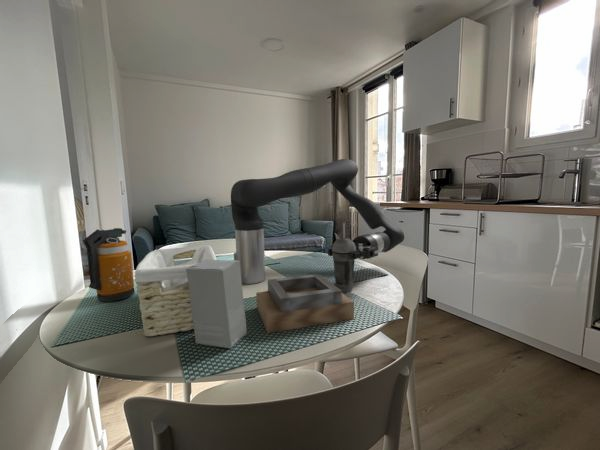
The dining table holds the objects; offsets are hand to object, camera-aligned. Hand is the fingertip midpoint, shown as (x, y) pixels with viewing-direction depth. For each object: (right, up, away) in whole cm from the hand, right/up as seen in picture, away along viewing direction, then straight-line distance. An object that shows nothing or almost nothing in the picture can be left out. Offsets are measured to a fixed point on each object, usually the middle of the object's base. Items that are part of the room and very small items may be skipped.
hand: (340, 254), depth 82 cm
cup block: (-11, -13, -13) cm, 21 cm away
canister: (-64, -13, -1) cm, 66 cm away
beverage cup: (+2, -11, +3) cm, 11 cm away
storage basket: (-40, -14, -11) cm, 44 cm away
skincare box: (-27, -15, -25) cm, 40 cm away
